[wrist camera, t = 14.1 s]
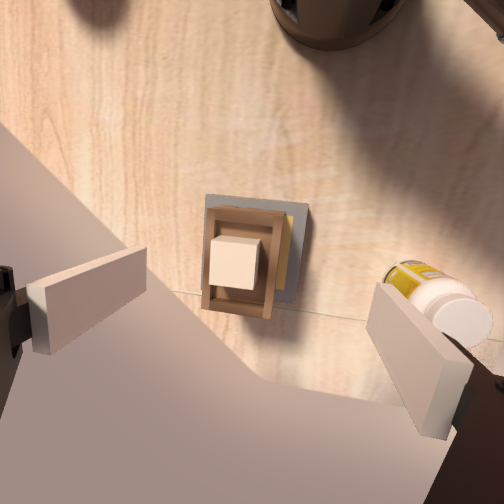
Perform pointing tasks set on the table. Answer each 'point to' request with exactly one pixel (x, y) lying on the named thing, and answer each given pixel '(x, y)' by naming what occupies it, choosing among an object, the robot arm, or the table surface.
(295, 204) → the dock
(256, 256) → the block
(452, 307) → the pill bottle
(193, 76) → the table surface
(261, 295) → the stained wood crate
